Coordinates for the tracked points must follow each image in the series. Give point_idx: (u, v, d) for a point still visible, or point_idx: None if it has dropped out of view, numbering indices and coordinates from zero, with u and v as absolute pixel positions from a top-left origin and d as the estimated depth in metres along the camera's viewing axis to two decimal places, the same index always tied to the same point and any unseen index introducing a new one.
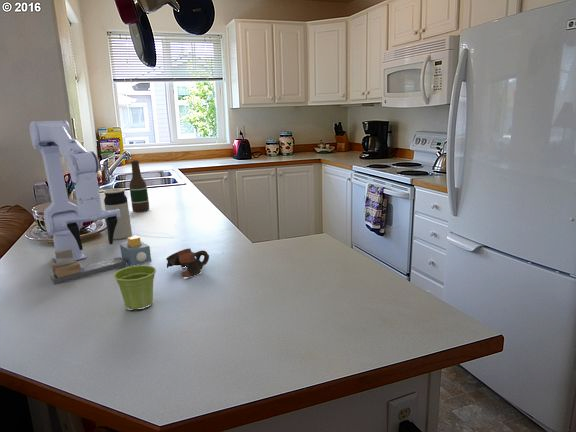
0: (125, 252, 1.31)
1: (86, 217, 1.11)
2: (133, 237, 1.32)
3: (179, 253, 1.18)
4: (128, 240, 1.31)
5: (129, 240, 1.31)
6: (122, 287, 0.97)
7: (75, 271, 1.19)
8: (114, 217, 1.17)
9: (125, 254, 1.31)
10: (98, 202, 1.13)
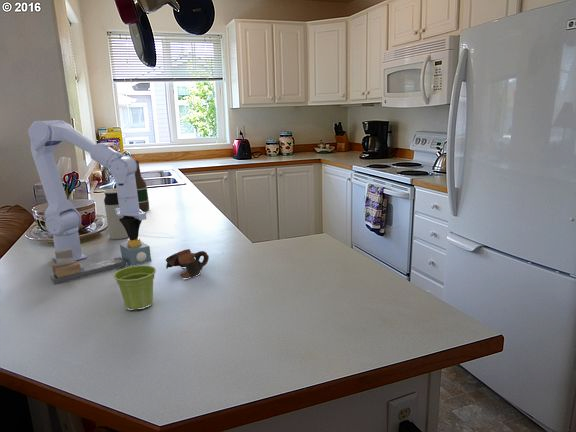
0: (125, 252, 1.31)
1: (119, 212, 1.29)
2: None
3: (178, 254, 1.17)
4: (128, 242, 1.31)
5: (129, 242, 1.31)
6: (122, 287, 0.97)
7: (75, 271, 1.19)
8: (138, 219, 1.26)
9: (125, 254, 1.31)
10: (125, 202, 1.26)
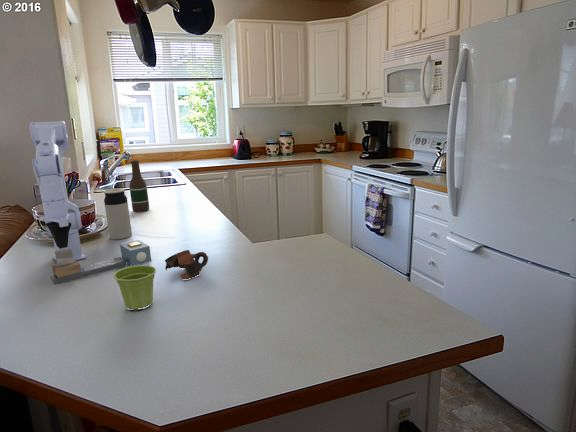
0: (125, 252, 1.31)
1: None
2: (134, 243, 1.32)
3: (178, 255, 1.17)
4: (129, 246, 1.32)
5: (130, 246, 1.31)
6: (122, 287, 0.97)
7: (75, 271, 1.19)
8: (59, 225, 1.12)
9: (125, 254, 1.31)
10: (48, 206, 1.13)
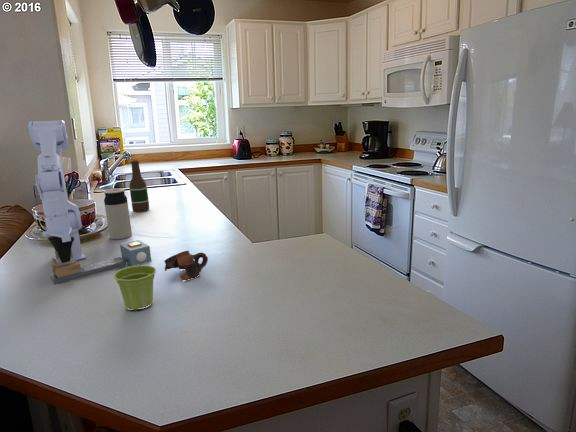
0: (125, 252, 1.31)
1: None
2: (134, 243, 1.32)
3: (177, 255, 1.16)
4: (129, 246, 1.32)
5: (130, 246, 1.31)
6: (122, 287, 0.97)
7: (75, 271, 1.19)
8: (62, 240, 1.13)
9: (125, 254, 1.31)
10: (51, 221, 1.14)
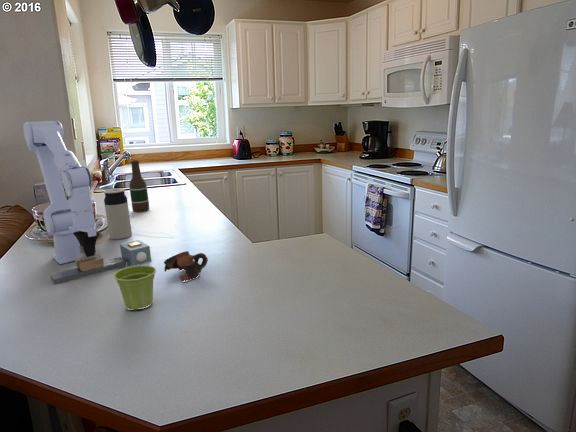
0: (125, 252, 1.31)
1: None
2: (134, 243, 1.32)
3: (177, 256, 1.15)
4: (129, 246, 1.32)
5: (130, 246, 1.31)
6: (122, 287, 0.97)
7: (98, 265, 1.23)
8: (88, 235, 1.17)
9: (125, 254, 1.31)
10: (77, 216, 1.18)
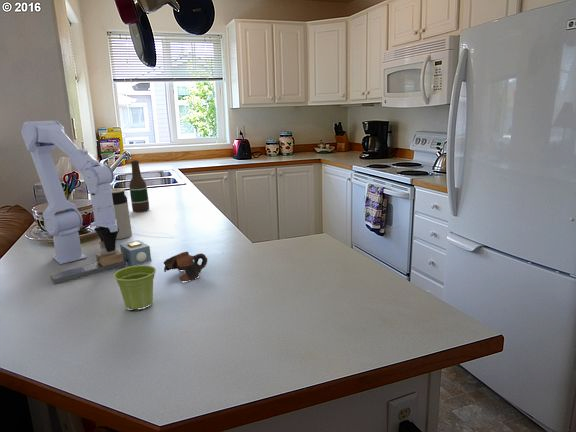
0: (125, 252, 1.31)
1: None
2: (134, 243, 1.32)
3: (177, 256, 1.15)
4: (129, 246, 1.32)
5: (130, 246, 1.31)
6: (122, 287, 0.97)
7: (118, 260, 1.27)
8: (109, 230, 1.21)
9: (125, 254, 1.31)
10: (99, 212, 1.22)
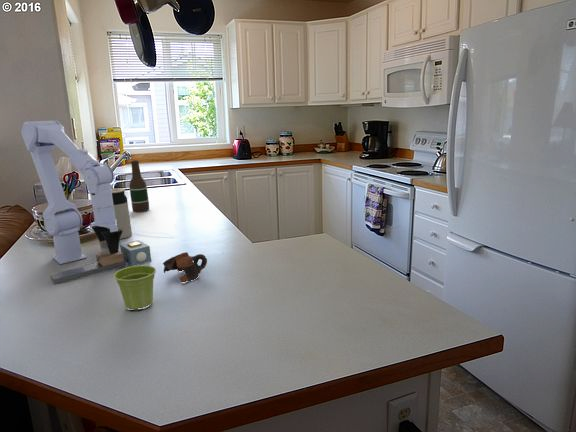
0: (125, 252, 1.31)
1: (94, 222, 1.25)
2: (134, 243, 1.32)
3: (176, 257, 1.15)
4: (129, 246, 1.32)
5: (130, 246, 1.31)
6: (122, 287, 0.97)
7: (118, 260, 1.27)
8: (109, 230, 1.21)
9: (125, 254, 1.31)
10: (99, 212, 1.22)
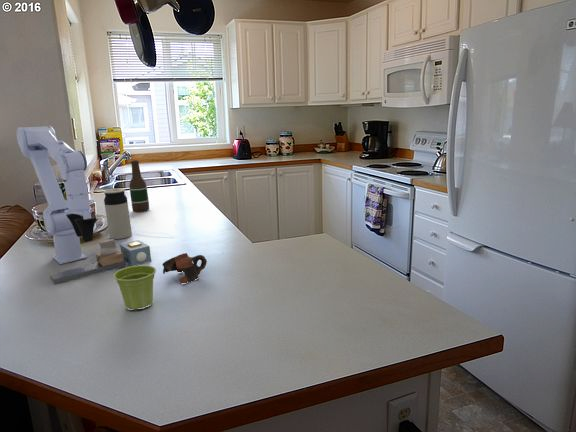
0: (125, 252, 1.31)
1: (68, 210, 1.23)
2: (134, 243, 1.32)
3: (176, 258, 1.14)
4: (129, 246, 1.32)
5: (130, 246, 1.31)
6: (122, 287, 0.97)
7: (118, 260, 1.27)
8: (83, 218, 1.20)
9: (125, 254, 1.31)
10: (72, 199, 1.20)
